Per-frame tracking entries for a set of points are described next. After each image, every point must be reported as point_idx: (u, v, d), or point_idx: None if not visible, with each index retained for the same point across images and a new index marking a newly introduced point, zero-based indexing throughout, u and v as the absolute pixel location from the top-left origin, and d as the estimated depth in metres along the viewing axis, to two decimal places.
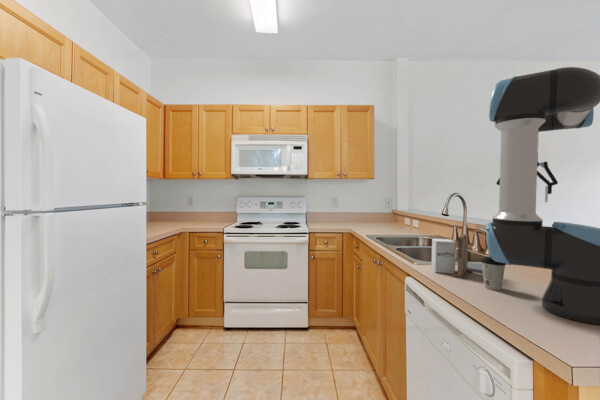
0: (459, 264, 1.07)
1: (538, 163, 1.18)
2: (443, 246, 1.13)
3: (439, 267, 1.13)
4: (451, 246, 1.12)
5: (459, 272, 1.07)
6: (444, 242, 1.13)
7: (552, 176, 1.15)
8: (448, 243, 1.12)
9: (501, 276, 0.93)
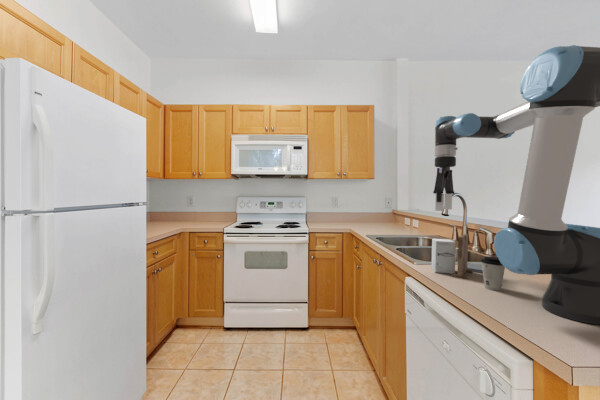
0: (459, 264, 1.07)
1: None
2: (443, 246, 1.13)
3: (439, 267, 1.13)
4: (451, 246, 1.12)
5: (459, 272, 1.07)
6: (444, 242, 1.13)
7: None
8: (448, 243, 1.12)
9: (501, 276, 0.93)
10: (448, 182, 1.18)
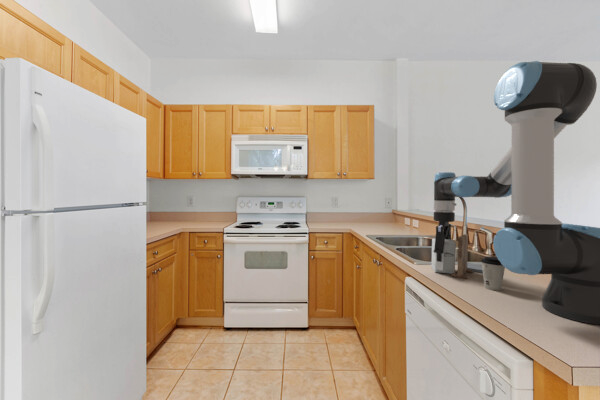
0: (459, 264, 1.07)
1: (438, 226, 1.13)
2: None
3: None
4: (451, 246, 1.12)
5: (459, 272, 1.07)
6: None
7: None
8: (448, 243, 1.12)
9: (501, 276, 0.93)
10: (446, 237, 1.18)
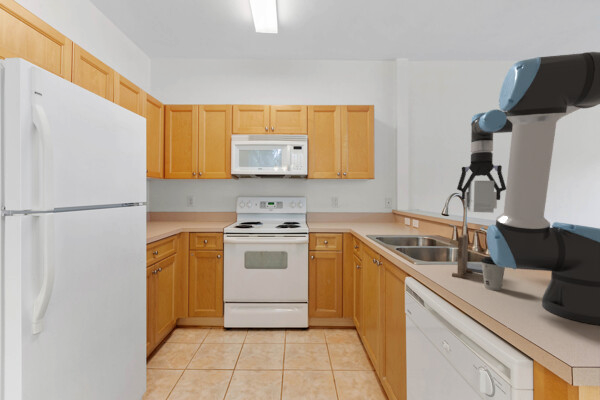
0: (459, 264, 1.07)
1: (492, 166, 1.14)
2: None
3: None
4: None
5: (459, 272, 1.07)
6: None
7: (502, 181, 1.12)
8: None
9: (501, 276, 0.93)
10: (473, 178, 1.20)
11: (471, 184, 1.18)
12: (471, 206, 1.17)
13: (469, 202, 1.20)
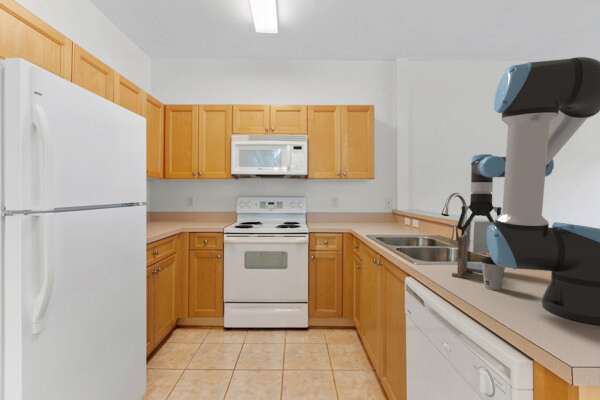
0: (459, 264, 1.07)
1: (492, 207, 1.15)
2: None
3: None
4: None
5: (459, 272, 1.07)
6: None
7: None
8: None
9: (501, 276, 0.93)
10: None
11: (471, 224, 1.19)
12: (471, 246, 1.18)
13: (469, 241, 1.20)
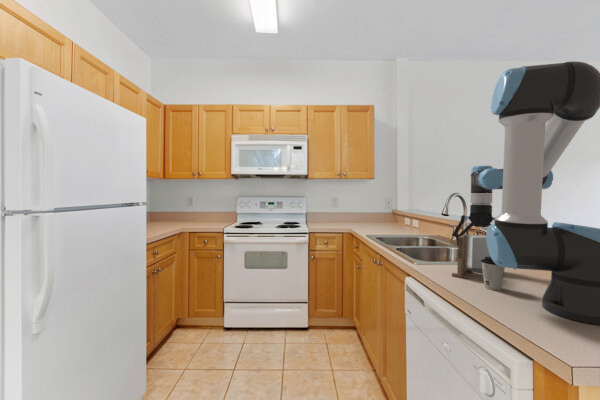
0: (459, 264, 1.07)
1: (492, 218, 1.15)
2: None
3: None
4: None
5: (459, 272, 1.07)
6: None
7: None
8: None
9: (501, 276, 0.93)
10: None
11: (470, 239, 1.19)
12: (470, 261, 1.18)
13: (468, 256, 1.21)
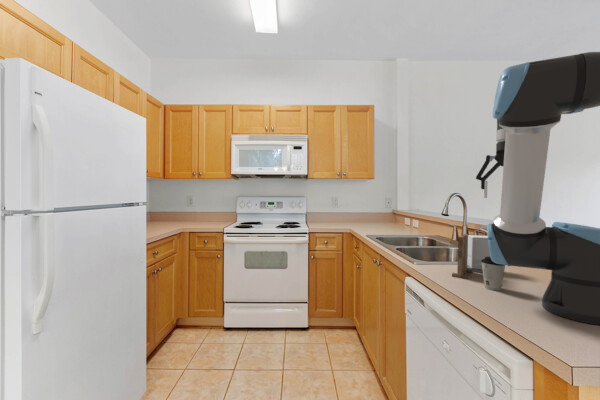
0: (459, 264, 1.07)
1: None
2: None
3: None
4: None
5: (459, 272, 1.07)
6: None
7: None
8: None
9: (501, 276, 0.93)
10: None
11: (470, 239, 1.19)
12: (470, 261, 1.18)
13: (468, 256, 1.21)
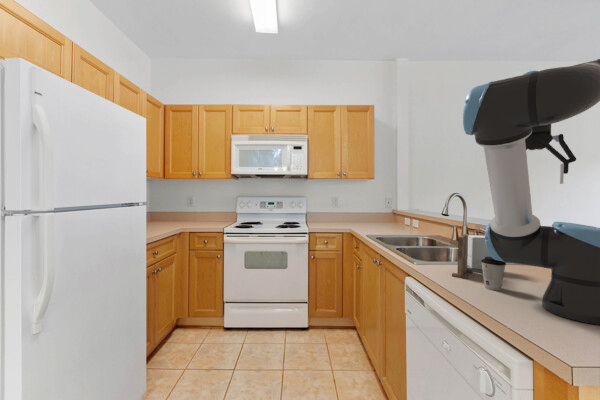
0: (459, 264, 1.07)
1: (551, 136, 0.97)
2: None
3: None
4: None
5: (459, 272, 1.07)
6: None
7: (569, 151, 0.94)
8: None
9: (501, 276, 0.93)
10: None
11: (470, 239, 1.19)
12: (470, 261, 1.18)
13: (468, 256, 1.21)
